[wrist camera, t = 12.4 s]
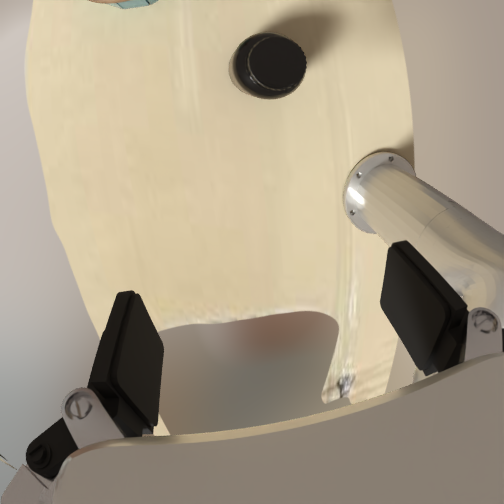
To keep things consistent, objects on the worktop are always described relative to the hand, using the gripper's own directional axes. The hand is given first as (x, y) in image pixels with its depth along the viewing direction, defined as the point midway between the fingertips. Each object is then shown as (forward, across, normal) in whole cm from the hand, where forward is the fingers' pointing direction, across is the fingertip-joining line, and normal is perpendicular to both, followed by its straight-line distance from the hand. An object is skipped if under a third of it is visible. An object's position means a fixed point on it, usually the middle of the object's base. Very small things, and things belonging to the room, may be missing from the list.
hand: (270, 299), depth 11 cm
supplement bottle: (+28, -4, -9) cm, 30 cm away
